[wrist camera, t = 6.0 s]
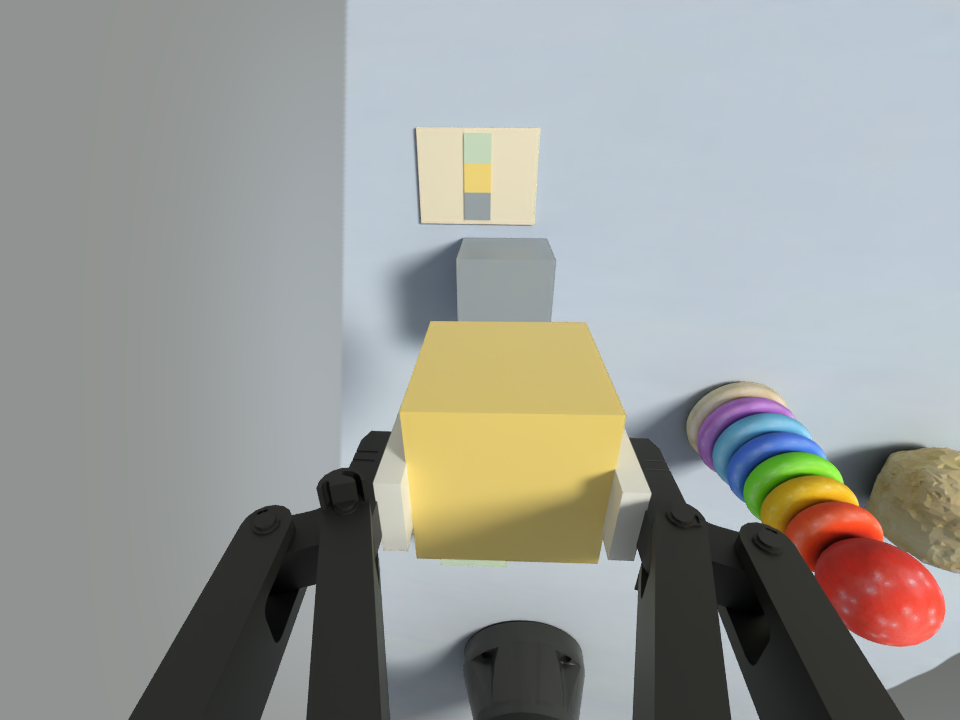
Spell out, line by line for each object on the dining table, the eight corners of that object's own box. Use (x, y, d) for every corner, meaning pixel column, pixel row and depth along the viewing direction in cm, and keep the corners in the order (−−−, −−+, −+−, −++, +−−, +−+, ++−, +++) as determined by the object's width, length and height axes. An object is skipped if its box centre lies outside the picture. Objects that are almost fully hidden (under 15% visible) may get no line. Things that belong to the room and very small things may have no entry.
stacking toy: (795, 422, 37) (1028, 654, 21) (708, 466, 40) (854, 702, 24) (755, 360, 35) (985, 568, 18) (665, 411, 37) (795, 633, 21)
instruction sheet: (534, 224, 31) (534, 225, 30) (421, 222, 31) (421, 223, 31) (540, 127, 28) (540, 128, 28) (416, 127, 28) (415, 127, 28)
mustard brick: (571, 444, 19) (597, 563, 14) (438, 441, 20) (416, 558, 14) (585, 322, 17) (626, 415, 11) (430, 320, 17) (399, 411, 12)
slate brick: (541, 315, 34) (548, 350, 29) (465, 314, 34) (458, 348, 29) (546, 238, 31) (556, 260, 26) (463, 237, 31) (456, 259, 26)
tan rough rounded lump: (871, 586, 37) (972, 555, 29) (826, 473, 43) (899, 422, 35) (996, 600, 36) (1136, 572, 28) (932, 482, 42) (1031, 432, 34)
